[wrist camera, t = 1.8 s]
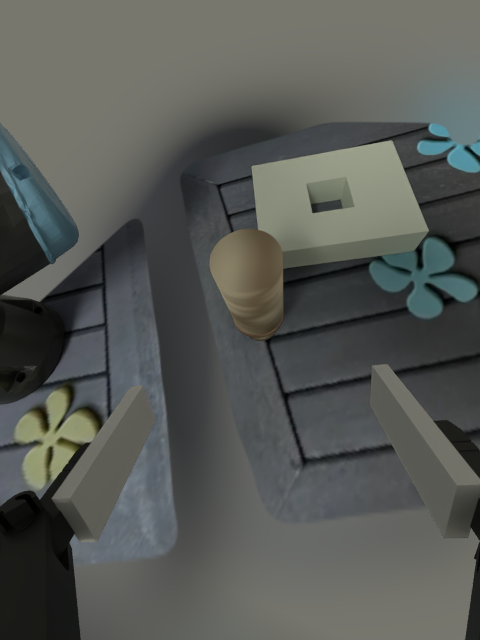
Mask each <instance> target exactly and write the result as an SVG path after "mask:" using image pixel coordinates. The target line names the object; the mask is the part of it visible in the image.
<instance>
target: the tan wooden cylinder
mask: <svg viewBox="0 0 480 640" xmlns="http://www.w3.org/2000/svg"><path fill="white" fill-rule="evenodd" d="M209 264H210V270H211V273H212V276H213V278H214V280H215V282H216V284H217V286H218V288H219V290H220V292H221V294H222V296H223V298H224V300H225V302H226V304H227V307H228V309H229V311H230V313H231V315H232V317H233V321H234V323H235V325H236V327H237V328H238V329H239V330H240V331H241V332H242V333H244V334H245V335H247V336H249V337H250V338H252V339H254V340H257V341H264V340H267V339H270V338H271V337H272V336H273V335H274V334H275V333H276V331H277V329H278V328H279V327H280V325H281V323H282V321H283V318H284V306H283V253H282V249H281V246H280V245H279V243H278V241H277V240H276V239H275V238H274V237H273V236H271V235H270V234H268V233H266V232H264V231H261V230H257V229H242V230H238V231H235V232H232V233H230V234H228V235H227V236H225V237H224V238H222V239H221V240H220V241H219V242H218V243H217V244H216V246H215V247H214V249H213V251H212V253H211V256H210V263H209Z"/></svg>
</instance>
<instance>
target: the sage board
mask: <svg viewBox="0 0 480 640" xmlns="http://www.w3.org/2000/svg"><path fill="white" fill-rule="evenodd" d="M252 175H253V185H254V194H255V204H256V214H257V223H258V230H261V231H264V232H266V233H268V234H270V235H271V236H273V237H274V238H275V239H276V240H277V241H278V243H279V245H280V246H281V249H282V253H283V269H284V268H292V267H299V266H307V265H314V264H322V263H329V262H337V261H344V260H352V259H360V258H367V257H375V256H382V255H390V254H397V253H405V252H412V251H414V250H415V249H416V247H417V246H418V245H419V243H420V242H421V241H422V239H423V238H424V237H425V235H426V234H427V233H428V232H429V230H428V228H427V225H426V223H425V220H424V218H423V215H422V213H421V210H420V208H419V205H418V203H417V201H416V198H415V196H414V193H413V191H412V188H411V186H410V183H409V181H408V178H407V176H406V174H405V171H404V169H403V166H402V164H401V161H400V159H399V156H398V154H397V151H396V149H395V147H394V144H393V142H392V141H386V142H381V143H375V144H370V145H364V146H359V147H353V148H348V149H343V150H337V151H332V152H326V153H321V154H315V155H310V156H304V157H299V158H293V159H288V160H283V161H277V162H272V163H266V164H261V165H255V166H252ZM334 200H341V203H342V207H343V209H338V210H331V211H325V212H319V213H312V209H311V204H316V203H322V202H328V201H334Z"/></svg>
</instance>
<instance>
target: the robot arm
mask: <svg viewBox="0 0 480 640" xmlns="http://www.w3.org/2000/svg"><path fill="white" fill-rule="evenodd" d="M78 236H79V233H78V229H77V226H76V224H75V222H74V220H73V218H72V217H71V215H70V214H69V212H68V210H67V209H66V207H65V206H64V205H63V203H62V201H61V200H60V199H59V197H58V196H57V194H56V193H55V191H54V190H53V189H52V187H51V186H50V184H49V183H48V182H47V180H46V179H45V177H44V176H43V175H42V173H41V172H40V171H39V169H38V168H37V167H36V165H35V164H34V163H33V161H32V160H31V159H30V157H29V156H28V155H27V154H26V152H25V151H24V150H23V148H22V147H21V146H20V145H19V144H18V143H17V141H16V140H15V139H14V137H13V136H12V135H11V134H10V133H9V132H8V131H7V129H5V128H4V127H3V126H2V125H1V124H0V404H8V403H12V402H15V401H18V400H20V399H22V398H24V397H26V396H27V395H29V394H30V393H32V392H33V391H34V390H36V389H37V388H38V387H39V386H40V385H41V384H42V383H43V382H44V381H45V380H46V379H47V378H48V376H49V375H50V374H51V372H52V371H53V369H54V368H55V366H56V364H57V362H58V360H59V358H60V355H61V352H62V349H63V344H64V327H63V323H62V321H61V318H60V317H59V315H58V314H57V313H56V312H55V311H54V310H53V309H52V308H50V307H48V306H46V305H44V304H42V303H40V302H38V301H35V300H32V299H27V298H20V297H13V296H7V295H2V294H3V293H4V292H6V291H8V290H10V289H11V288H13V287H14V286H16V285H17V284H19V283H21V282H22V281H24V280H25V279H27V278H28V277H30V276H31V275H33V274H35V273H36V272H38V271H39V270H41V269H43V268H44V267H46V266H47V265H49V264H50V263H51V264H53V263H55V261H56V258H58V257H59V256H61V255H62V254H63V253H65V252H66V251H68V250H69V249H70V248H72V247H73V246H74V245H75V244H76V243H77V241H78ZM370 406H371V408H372V410H373V412H374V413H375V415H376V417H377V419H378V421H379V422H380V424H381V426H382V428H383V430H384V431H385V433H386V435H387V437H388V439H389V440H390V442H391V444H392V446H393V448H394V449H395V451H396V453H397V455H398V457H399V458H400V460H401V462H402V464H403V466H404V467H405V469H406V471H407V473H408V475H409V476H410V478H411V480H412V482H413V484H414V485H415V487H416V489H417V491H418V493H419V494H420V496H421V498H422V500H423V502H424V504H425V505H426V507H427V509H428V511H429V513H430V514H431V516H432V518H433V520H434V521H435V523H436V525H437V527H438V528H439V530H440V532H441V534H442V536H443V538H468V536H469V532H470V529H471V528H472V530H473V531H474V532H475V534H476V536H477V537H478V539H479V540H480V451H479V449H478V448H477V446H476V445H475V444H474V443H472V442H471V440H470V439H469V438H468V436H467V435H466V434H465V433H464V432H463V431H462V430H461V429H460V428H458V427H457V426H455V425H454V424H452V423H451V422H449V421H448V420H442V421H433V420H432V419H431V418H430V417H429V415H428V414H427V413H426V412H425V410H424V409H423V408H422V407H421V405H420V404H419V403H418V402H417V400H416V399H415V398H414V397H413V395H412V394H411V393H410V392H409V391H408V389H407V388H406V387H405V386H404V384H403V383H402V382H401V381H400V379H399V378H398V377H397V376H396V374H395V373H394V372H393V371H392V369H391V368H390V367H389V366H388V364H383V365H372V380H371V400H370ZM155 421H156V420H155V417H154V414H153V412H152V409H151V406H150V403H149V400H148V398H147V395H146V392H145V389H144V387H143V385H142V386H131V387H130V389H129V390H128V392H127V393H126V394H125V396H124V397H123V399H122V400H121V401H120V403H119V404H118V406H117V407H116V409H115V410H114V411H113V413H112V414H111V416H110V417H109V418H108V420H107V421H106V423H105V424H104V425H103V427H102V428H101V430H100V431H99V432H98V434H97V435H96V437H95V438H94V440H93V441H92V442H91V443H85V444H84V445H83V446H82V447H81V448H80V449H78V450H77V451H76V452H75V454H74V455H73V456H72V458H71V459H70V460H69V462H68V464H66V466H65V467H64V468H63V470H62V472H60V474H59V475H58V476H57V478H56V479H55V480H54V482H53V483H52V484H51V486H50V487H49V488H48V490H47V491H46V493H45V494H44V495H43V497H42V498H41V499H40V500H39V498H38V497H37V496H36V494H35V493H34V492H33V491H23V492H21V493H19V494H17V495H15V496H13V497H12V498H10V499H9V500H7V501H6V502H5V503H4V504H3V505H2V506H1V507H0V640H81V638H80V628H79V618H78V607H77V597H76V587H75V576H74V566H73V556H72V548H71V545H70V543H69V542H70V541H71V539H72V537H73V535H74V534H75V535H76V537H77V538H78V540H79V541H80V542H97V541H98V539H99V537H100V535H101V533H102V531H103V529H104V527H105V525H106V522H107V520H108V518H109V516H110V514H111V512H112V510H113V508H114V506H115V504H116V502H117V500H118V498H119V496H120V493H121V491H122V489H123V487H124V485H125V483H126V481H127V479H128V477H129V475H130V473H131V471H132V469H133V467H134V464H135V462H136V460H137V458H138V456H139V454H140V452H141V450H142V448H143V446H144V444H145V442H146V440H147V438H148V435H149V433H150V431H151V429H152V427H153V425H154V423H155ZM474 559H476V566H475V573H474V580H473V581H474V582H473V588H472V595H471V602H470V609H469V616H468V624H467V631H466V638H465V640H480V542H479V545H478V548H477V551H476V554H475V557H474Z"/></svg>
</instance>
